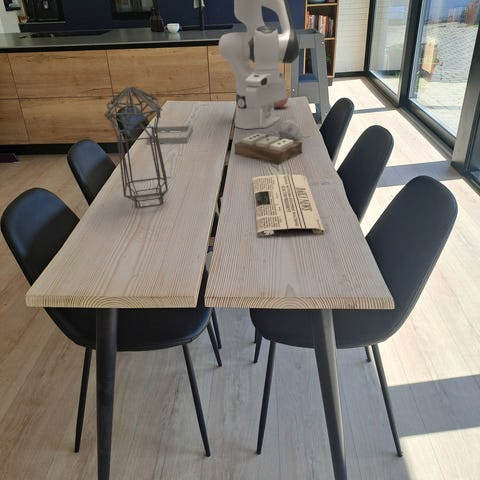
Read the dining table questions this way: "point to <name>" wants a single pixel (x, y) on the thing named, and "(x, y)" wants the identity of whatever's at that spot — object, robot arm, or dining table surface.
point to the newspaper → (284, 204)
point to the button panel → (268, 152)
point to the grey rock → (288, 129)
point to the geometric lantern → (155, 138)
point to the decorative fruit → (281, 102)
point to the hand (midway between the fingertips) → (267, 116)
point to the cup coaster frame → (173, 139)
